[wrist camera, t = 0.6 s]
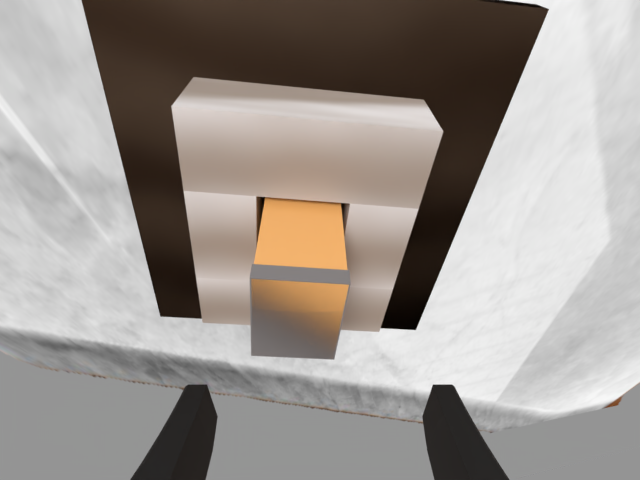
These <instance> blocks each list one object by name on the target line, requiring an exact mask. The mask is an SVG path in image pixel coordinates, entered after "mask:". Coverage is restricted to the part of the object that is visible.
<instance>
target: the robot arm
mask: <svg viewBox="0 0 640 480" xmlns="http://www.w3.org/2000/svg"><path fill="white" fill-rule="evenodd" d="M217 418H218V416H217V413H216V410H215V407H214V404H213V401H212V398H211V395H210V392H209V389H208V386H207V384H188V385H187V386H185V388H184V390H183V392H182V394H181V396H180V398H179V400H178V402H177V403H176V405H175V407H174V409H173V411H172V413H171V414H170V416H169V418H168V420H167V421H166V423H165V425H164V427H163V428H162V430H161V432H160V434H159V435H158V437H157V438H156V440H155V442H154V443H153V445H152V447H151V448H150V450H149V451H148V453H147V455H146V456H145V458H144V459H143V461H142V463H141V464H140V466H139V467H138V469H137V470H136V472H135V473H134V475H133V476H132V478H131V479H130V480H206V476H207V472H208V468H209V464H210V460H211V456H212V452H213V446H214V439H215V433H216V425H217ZM422 418H423V426H424V433H425V440H426V446H427V452H428V456H429V460H430V464H431V468H432V472H433V476H434V480H509V478H508V477H507V475H506V473H505V472H504V470H503V469H502V467H501V466H500V464H499V463H498V461H497V460H496V458H495V456H494V455H493V453H492V452H491V450H490V448H489V447H488V445H487V444H486V442H485V440H484V439H483V437H482V435H481V434H480V432H479V430H478V429H477V427H476V425H475V423H474V422H473V420H472V418H471V416H470V415H469V413H468V411H467V409H466V407H465V406H464V404H463V402H462V400H461V398H460V396H459V394H458V392H457V390H456V388H455V386H453V385H452V384H433V386H432V389H431V392H430V395H429V398H428V401H427V404H426V407H425V410H424V413H423V416H422Z"/></svg>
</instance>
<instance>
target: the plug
mask: <svg viewBox="0 0 640 480" xmlns="http://www.w3.org/2000/svg"><path fill="white" fill-rule="evenodd" d="M350 285H351V281H350V271H349V270H347V260H346V250H345V240H344V229H343V219H342V209H341V203H336V202H323V201H310V200H297V199H284V198H271V197H265V202H264V208H263V213H262V219H261V225H260V231H259V237H258V242H257V248H256V254H255V260H254V264H252V266H251V272H250V325H251V356H265V357H287V358H308V359H330V360H334V359H335V354H336V350H337V345H338V340H339V336H340V331H341V327H342V322H343V317H344V313H345V308H346V303H347V299H348V294H349V290H350Z"/></svg>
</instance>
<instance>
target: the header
mask: <svg viewBox="0 0 640 480" xmlns="http://www.w3.org/2000/svg"><path fill="white" fill-rule="evenodd" d="M81 1H82V5H83V9H84V13H85V17H86V21H87V25H88V29H89V33H90V37H91V41H92V45H93V49H94V53H95V57H96V61H97V65H98V69H99V73H100V77H101V81H102V85H103V89H104V93H105V97H106V101H107V105H108V109H109V113H110V117H111V121H112V125H113V129H114V133H115V137H116V141H117V145H118V149H119V153H120V157H121V161H122V165H123V169H124V173H125V177H126V181H127V185H128V189H129V193H130V197H131V201H132V205H133V209H134V213H135V217H136V221H137V225H138V229H139V233H140V237H141V241H142V245H143V249H144V253H145V257H146V261H147V265H148V269H149V273H150V277H151V281H152V285H153V289H154V293H155V297H156V301H157V305H158V309H159V313H160V317H177V318H196V319H202V322H203V323H216V324H235V325H250V272H251V266H252V264H254V260H255V254H256V248H257V242H258V237H259V231H260V225H261V219H262V213H263V208H264V202H265V197H271V198H284V199H297V200H310V201H323V202H336V203H341V209H342V219H343V229H344V240H345V250H346V260H347V270H349V271H350V281H351V285H350V290H349V294H348V299H347V303H346V308H345V313H344V317H343V322H342V327H341V330H350V331H369V332H379V331H380V328H385V329H404V330H416V329H417V326H418V324H419V322H420V319H421V317H422V314H423V312H424V310H425V307H426V305H427V302H428V300H429V297H430V295H431V293H432V290H433V288H434V285H435V283H436V281H437V278H438V276H439V273H440V271H441V269H442V266H443V264H444V261H445V259H446V257H447V254H448V252H449V249H450V247H451V244H452V242H453V240H454V237H455V235H456V232H457V230H458V228H459V225H460V223H461V220H462V218H463V216H464V213H465V211H466V208H467V206H468V203H469V201H470V199H471V196H472V194H473V191H474V189H475V187H476V184H477V182H478V179H479V177H480V175H481V172H482V170H483V167H484V165H485V162H486V160H487V158H488V155H489V153H490V150H491V148H492V146H493V143H494V141H495V138H496V136H497V134H498V131H499V129H500V126H501V124H502V121H503V119H504V117H505V114H506V112H507V109H508V107H509V105H510V102H511V100H512V97H513V95H514V93H515V90H516V88H517V85H518V83H519V81H520V78H521V76H522V73H523V71H524V68H525V66H526V64H527V61H528V59H529V56H530V54H531V52H532V49H533V47H534V44H535V42H536V40H537V37H538V35H539V32H540V30H541V27H542V25H543V23H544V20H545V18H546V15H547V13H548V11H549V9H547V8H545V7H542V6H540V5H537V4H530V3H522V2H513V1H505V0H81Z"/></svg>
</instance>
